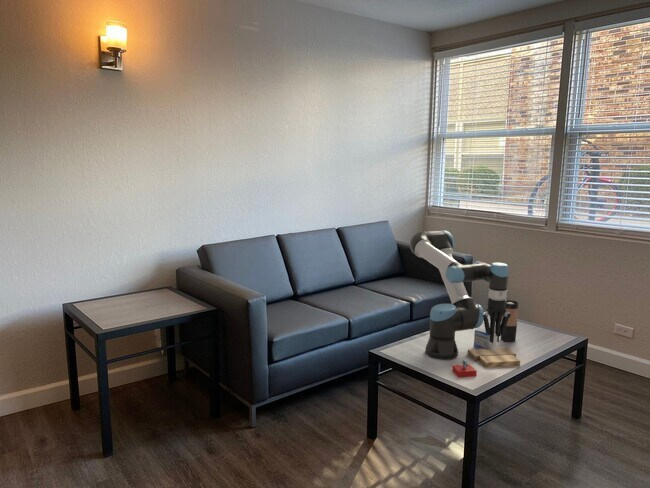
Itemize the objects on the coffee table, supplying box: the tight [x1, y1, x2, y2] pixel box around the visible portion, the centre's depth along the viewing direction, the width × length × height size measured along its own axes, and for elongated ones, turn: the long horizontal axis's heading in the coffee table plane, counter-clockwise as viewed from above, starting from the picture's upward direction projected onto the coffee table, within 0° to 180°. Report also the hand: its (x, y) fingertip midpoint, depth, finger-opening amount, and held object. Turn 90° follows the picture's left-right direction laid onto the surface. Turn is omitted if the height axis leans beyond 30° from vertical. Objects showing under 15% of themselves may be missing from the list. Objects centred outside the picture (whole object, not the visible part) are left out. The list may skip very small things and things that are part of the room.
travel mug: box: [500, 299, 519, 343], centre depth 259 cm, size 8×8×20 cm
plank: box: [478, 355, 521, 369], centre depth 231 cm, size 16×7×2 cm, turn 97°
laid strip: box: [467, 347, 517, 362], centre depth 239 cm, size 20×8×2 cm, turn 97°
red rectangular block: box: [451, 359, 478, 378], centre depth 220 cm, size 8×7×6 cm
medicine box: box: [473, 327, 491, 349], centre depth 250 cm, size 8×4×9 cm, turn 47°
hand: (493, 348), depth 228 cm, fingers closed
